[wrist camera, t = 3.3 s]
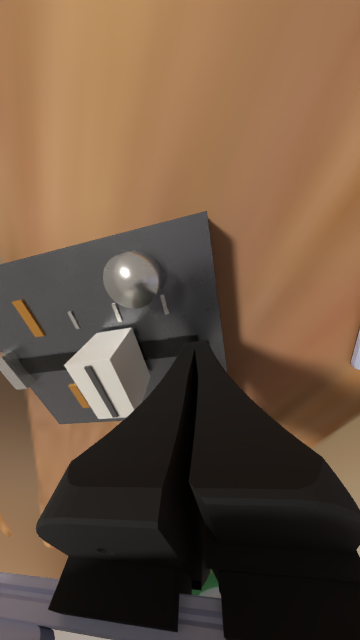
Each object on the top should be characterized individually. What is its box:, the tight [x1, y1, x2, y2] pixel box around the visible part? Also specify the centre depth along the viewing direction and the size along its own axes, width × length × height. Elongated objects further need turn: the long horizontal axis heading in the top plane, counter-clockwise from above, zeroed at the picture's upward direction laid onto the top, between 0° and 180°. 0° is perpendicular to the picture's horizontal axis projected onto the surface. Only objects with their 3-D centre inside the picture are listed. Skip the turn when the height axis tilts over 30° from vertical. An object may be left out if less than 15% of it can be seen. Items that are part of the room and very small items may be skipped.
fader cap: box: [64, 328, 150, 419], centre depth 10 cm, size 2×4×3 cm, turn 12°
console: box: [0, 211, 227, 424], centre depth 12 cm, size 16×14×3 cm
